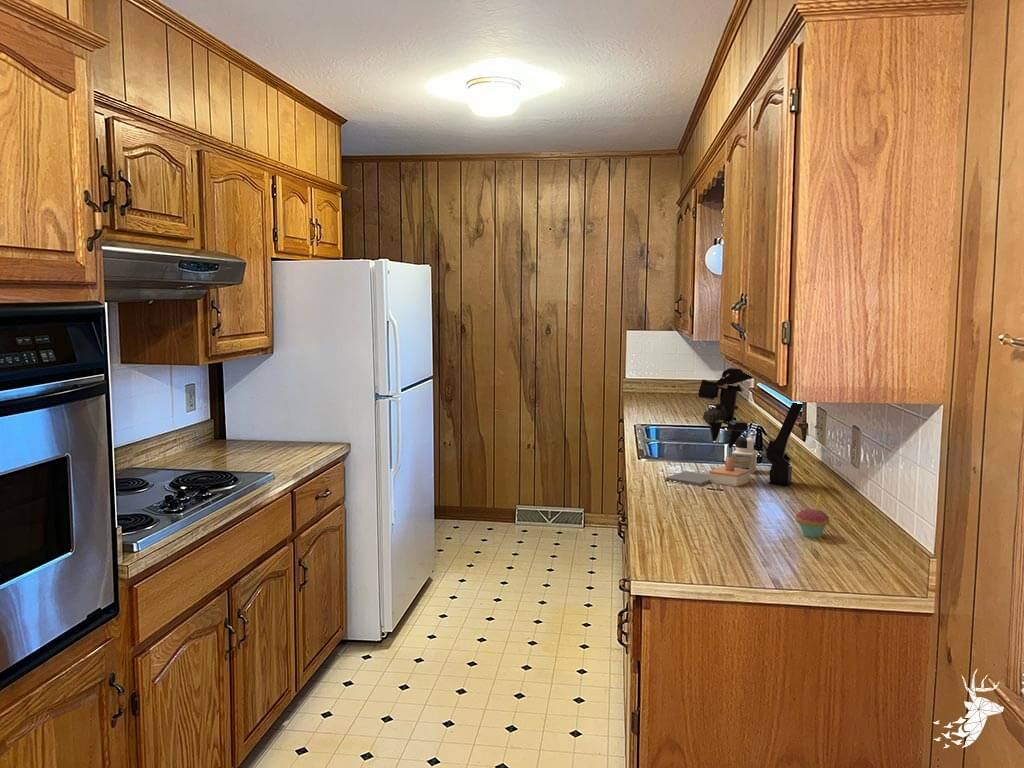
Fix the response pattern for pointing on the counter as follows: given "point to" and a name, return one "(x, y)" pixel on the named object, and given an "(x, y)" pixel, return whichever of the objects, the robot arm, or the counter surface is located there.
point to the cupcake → (812, 521)
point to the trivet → (690, 478)
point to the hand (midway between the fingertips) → (721, 444)
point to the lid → (729, 469)
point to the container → (745, 454)
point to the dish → (729, 479)
